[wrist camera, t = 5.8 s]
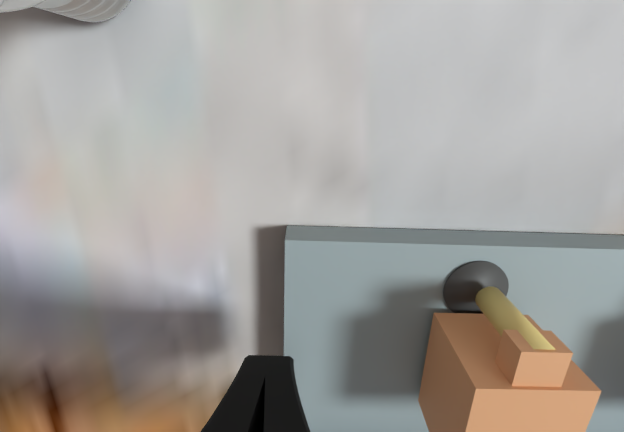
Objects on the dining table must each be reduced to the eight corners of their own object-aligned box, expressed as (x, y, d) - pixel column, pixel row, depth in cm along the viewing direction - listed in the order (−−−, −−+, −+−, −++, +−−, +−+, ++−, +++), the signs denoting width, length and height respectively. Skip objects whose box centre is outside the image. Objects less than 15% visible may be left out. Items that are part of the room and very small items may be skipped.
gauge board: (759, 239, 12) (978, 312, 8) (653, 450, 16) (771, 575, 12) (287, 225, 12) (276, 295, 8) (284, 445, 15) (276, 571, 11)
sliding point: (536, 284, 11) (617, 353, 8) (503, 402, 12) (560, 493, 10) (439, 281, 11) (485, 350, 8) (417, 400, 12) (450, 492, 10)
